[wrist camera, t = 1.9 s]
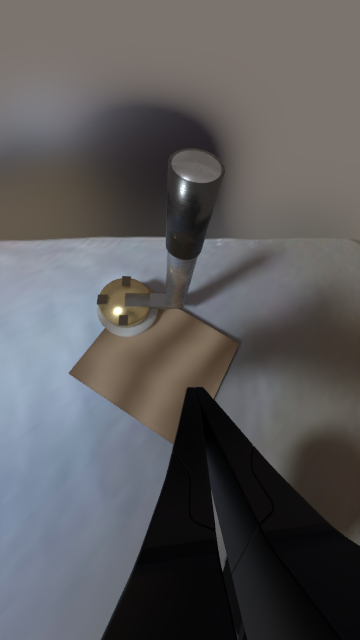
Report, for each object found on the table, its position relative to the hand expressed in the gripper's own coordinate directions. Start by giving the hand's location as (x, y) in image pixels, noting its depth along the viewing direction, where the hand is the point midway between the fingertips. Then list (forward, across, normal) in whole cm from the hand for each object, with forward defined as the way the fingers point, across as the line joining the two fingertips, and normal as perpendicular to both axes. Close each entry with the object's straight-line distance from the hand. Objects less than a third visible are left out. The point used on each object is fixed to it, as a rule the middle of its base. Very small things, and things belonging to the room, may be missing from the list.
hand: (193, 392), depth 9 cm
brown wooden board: (+13, +3, +6) cm, 15 cm away
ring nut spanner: (+15, +4, +1) cm, 16 cm away
